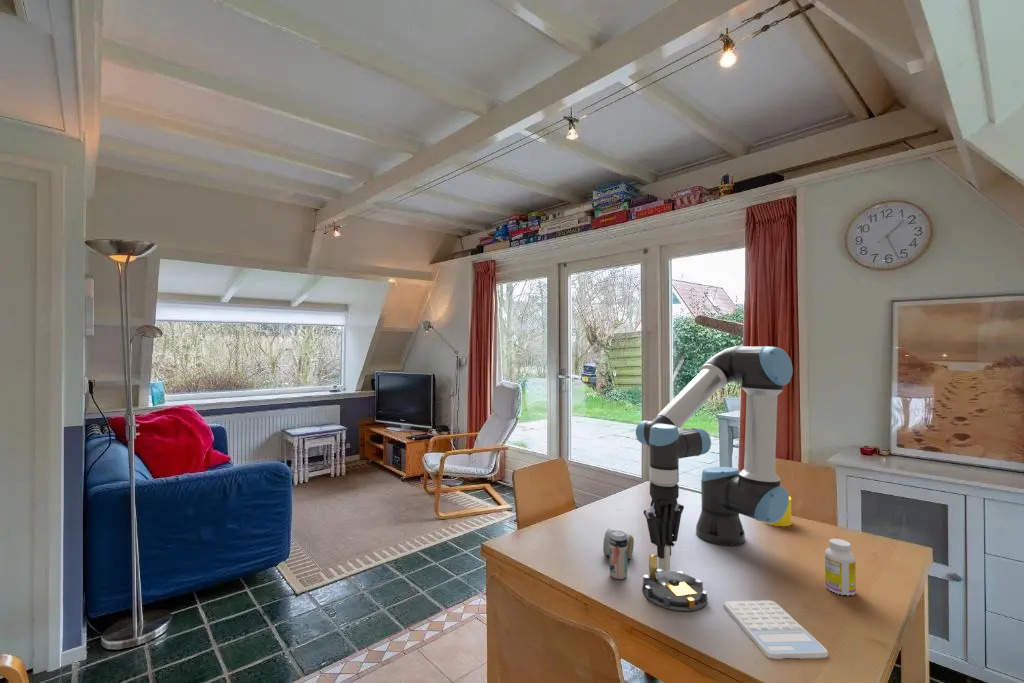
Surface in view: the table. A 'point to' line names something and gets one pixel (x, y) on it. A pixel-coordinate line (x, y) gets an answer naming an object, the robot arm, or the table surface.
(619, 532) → the beer can
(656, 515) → the robot arm
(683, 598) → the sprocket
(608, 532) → the ceramic mug
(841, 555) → the supplement bottle
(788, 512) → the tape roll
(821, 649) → the calculator
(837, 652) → the table surface
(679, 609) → the hub plate
